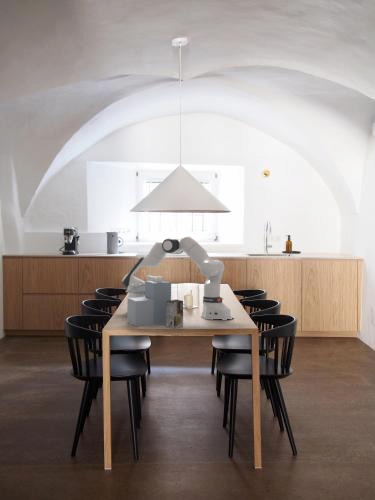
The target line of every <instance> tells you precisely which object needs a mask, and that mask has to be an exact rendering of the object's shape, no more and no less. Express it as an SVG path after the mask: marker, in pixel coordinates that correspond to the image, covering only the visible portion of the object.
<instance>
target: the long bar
mask: <svg viewBox="0 0 375 500" xmlns="http://www.w3.org/2000/svg"><path fill="white" fill-rule="evenodd" d="M163 279H164V278H163V276H162V275H156V276H153V275H146V280H147V281H155V282H163V281H164V280H163Z"/></svg>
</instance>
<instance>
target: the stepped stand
mask: <svg viewBox="0 0 375 500" xmlns="http://www.w3.org/2000/svg"><path fill="white" fill-rule="evenodd" d="M127 298H128V297H127ZM170 300H172V282H170V281H167V280H163V282H155V281H151V280H145V297H137V298H128V300H127V306H126V308H127V309H126V310H127V312H126V313H127V315H126V317H127V318H126V320H127V321H126V322H127V323H128V324H130V325H132V326H134V327H141V326H142V327H143V326H144V327H145V326H154V325H166V314H167V301H170Z"/></svg>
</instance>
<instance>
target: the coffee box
mask: <svg viewBox="0 0 375 500" xmlns="http://www.w3.org/2000/svg"><path fill="white" fill-rule="evenodd" d="M165 325H166V326H165V327H166V328H170V329H177V328H180V327H181V328H182V327H183V326H184V300H181V299H171V300H170V301H167V314H166V324H165Z"/></svg>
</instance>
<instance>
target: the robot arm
mask: <svg viewBox="0 0 375 500" xmlns="http://www.w3.org/2000/svg"><path fill="white" fill-rule="evenodd" d="M183 252H184V253H185V254H186V255H187V256H188V257H189V258H190V259H191V260H192V261H193V262H194V263H195V265H196V266H197V268H198V269H199V272H200V274H201V275H202V276H203V277H206V279H205V282H204V285H203V297H202V305H203V306H202V310H201V314H200V317H201V318H203V319H205V320H213V319H222V320H221V321H228V320H227V319H231V318H233V317H234V318H235V316H234V315H232V313H231V308H230V307H228V306H227V305H226V304H225V303H224V302H223V300H224V297H221V284H222V282H221V281H222V278H223V274H224V271H225V264H224V263H223V261H221V260H219V259H212V258H211V257H210V256H209V254H208V253H207V250H206V249H205V248H204V247H203V246H201V244H200V243H199V242H197V241H196V240H195V239H193V238H192V237H191V236H190V235H184V236H183V237H182V238H180V239H179V238H173V237H168V238H165V239H164V240H163V241H162V240H158V241H156V242H155V243H154V244H153V246H152V248H151V249H150V251H148V253H147V254H146V255H145V256H141V257H140V258H139V259H138V260H137V262H135V263H134V265H133V266H132V268H131V269H130V270H129V271H128V272H127V273H126V275H124V276H123V278H122V280H121V283H122V286H123V288H126V290H125V293H127V294H128V295H127V299H126V300H127V301H128V298H137V297H145V281H146V280H145V281H144V280H143V279H140V278H138V277H137V276H135V275H136V273H137V272H138V270H140V268H142V267H143V268H144V267H149V268H155V267H158V266H160V265H161V264H162V262H163V260H164V258H165V257H166V255H168V254H169V255H170V254H171V255H180V254H182V253H183ZM234 318H233V319H234ZM231 320H232V319H231Z"/></svg>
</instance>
